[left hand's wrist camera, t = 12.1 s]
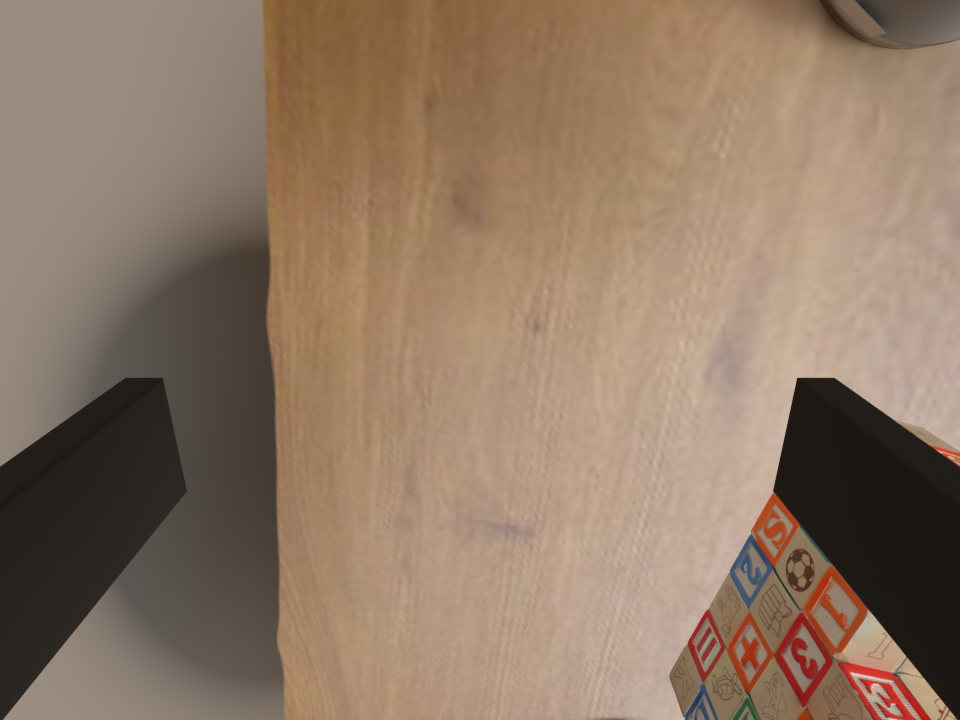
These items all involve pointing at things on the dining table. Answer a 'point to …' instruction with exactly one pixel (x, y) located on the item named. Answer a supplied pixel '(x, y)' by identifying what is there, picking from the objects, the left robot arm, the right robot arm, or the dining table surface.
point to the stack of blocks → (797, 638)
